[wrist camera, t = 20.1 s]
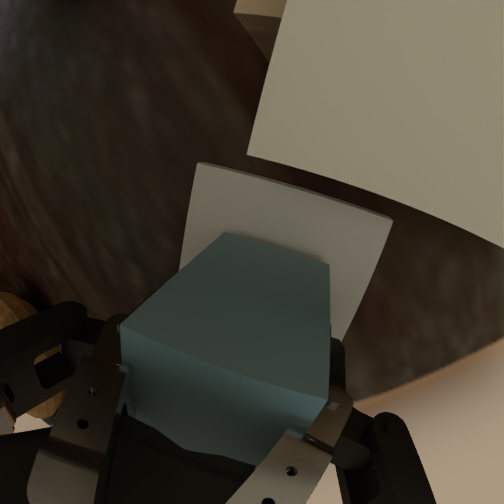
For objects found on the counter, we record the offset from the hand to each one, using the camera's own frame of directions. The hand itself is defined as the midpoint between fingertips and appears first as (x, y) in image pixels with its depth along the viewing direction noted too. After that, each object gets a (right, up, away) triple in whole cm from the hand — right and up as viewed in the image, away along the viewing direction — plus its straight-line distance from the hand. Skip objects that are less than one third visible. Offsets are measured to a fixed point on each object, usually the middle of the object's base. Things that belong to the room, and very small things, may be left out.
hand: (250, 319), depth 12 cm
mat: (+1, +2, +4) cm, 5 cm away
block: (+1, +1, +2) cm, 2 cm away
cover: (+7, +7, -9) cm, 14 cm away
